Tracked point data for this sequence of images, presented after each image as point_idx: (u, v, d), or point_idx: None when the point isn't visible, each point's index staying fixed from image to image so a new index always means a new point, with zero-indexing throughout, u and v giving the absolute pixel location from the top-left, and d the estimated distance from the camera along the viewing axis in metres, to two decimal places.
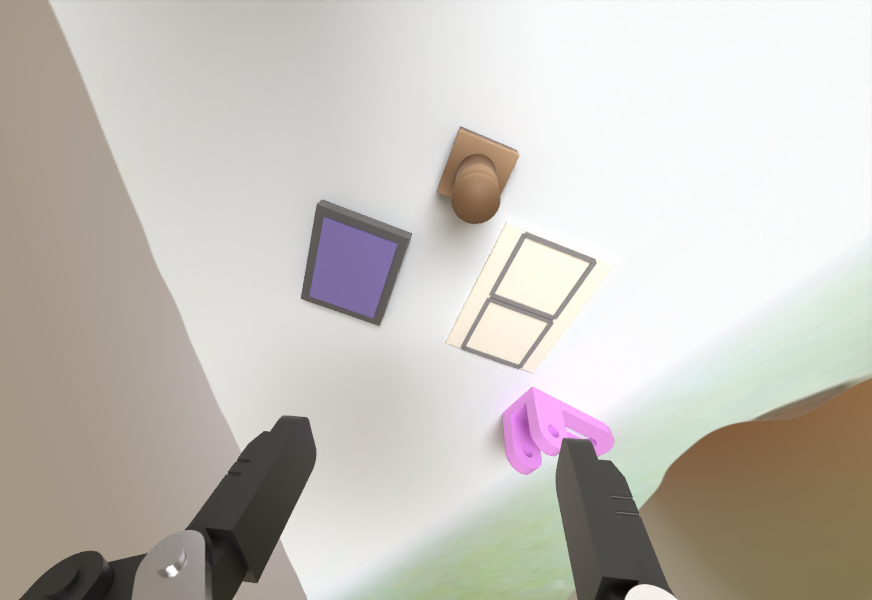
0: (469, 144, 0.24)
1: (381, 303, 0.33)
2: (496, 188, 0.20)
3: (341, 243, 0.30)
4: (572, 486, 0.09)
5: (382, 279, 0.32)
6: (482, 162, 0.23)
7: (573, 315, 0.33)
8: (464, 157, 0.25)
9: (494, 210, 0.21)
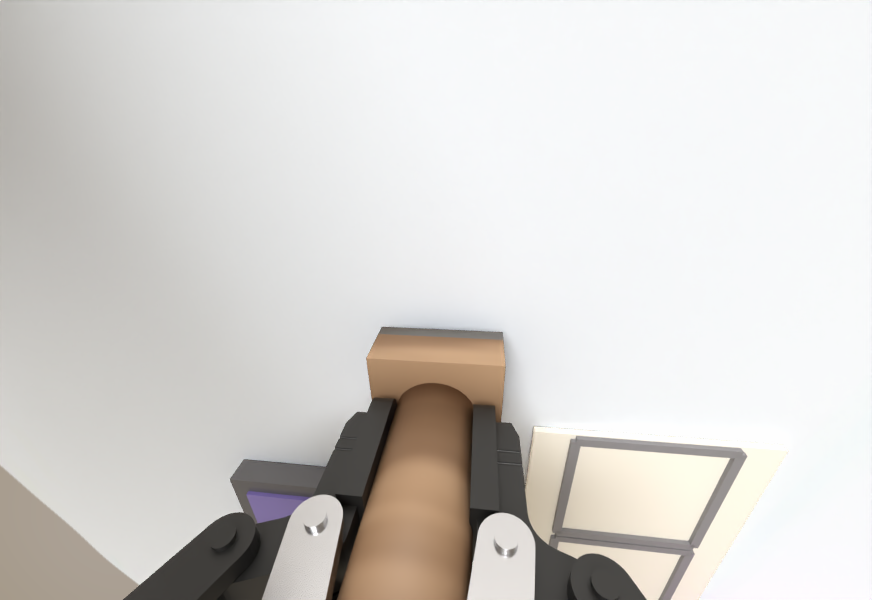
0: (397, 374, 0.12)
1: None
2: None
3: None
4: None
5: None
6: (417, 442, 0.10)
7: (730, 535, 0.17)
8: (399, 395, 0.12)
9: None
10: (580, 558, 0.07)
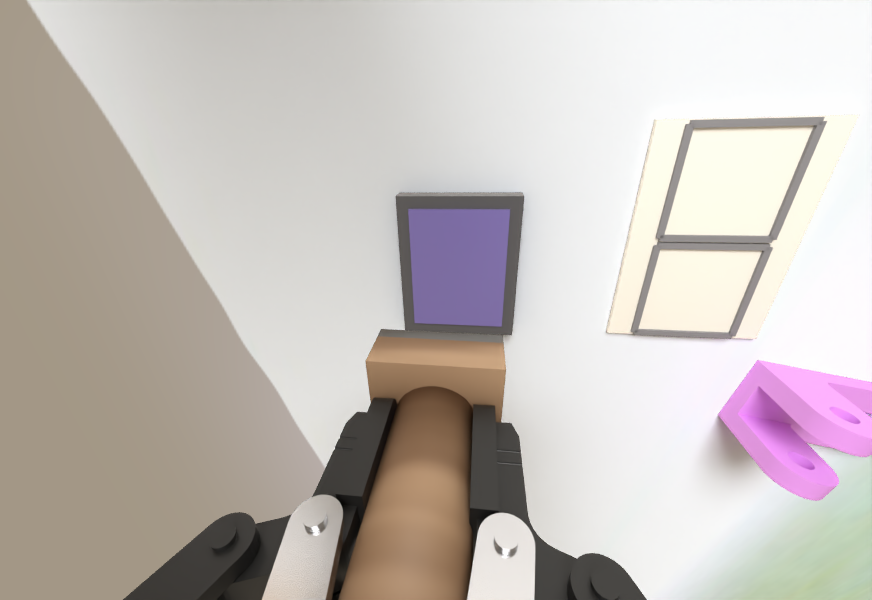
0: (396, 377, 0.12)
1: (507, 302, 0.25)
2: None
3: (437, 236, 0.23)
4: None
5: (501, 267, 0.23)
6: (417, 446, 0.09)
7: (803, 224, 0.21)
8: (398, 398, 0.12)
9: None
10: (581, 558, 0.07)
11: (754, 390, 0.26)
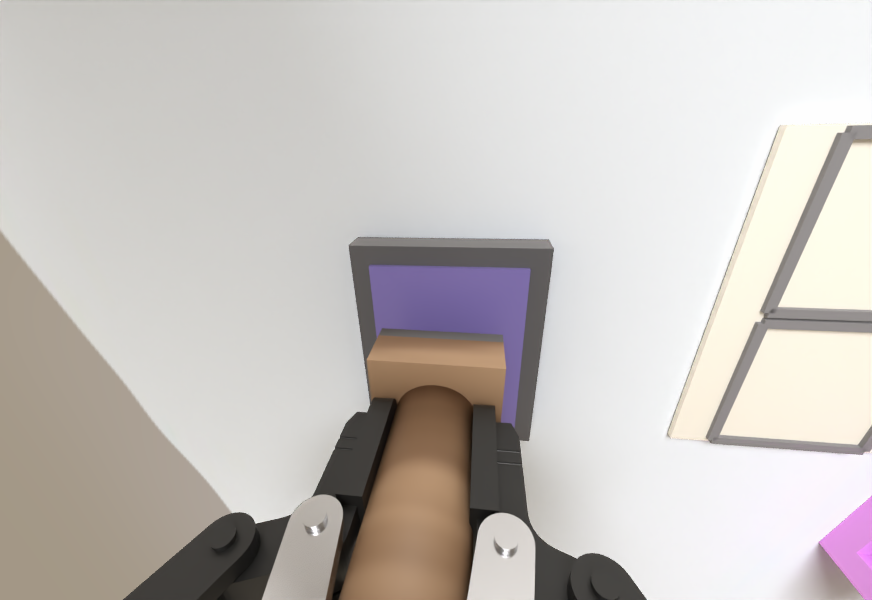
0: (397, 375, 0.12)
1: (522, 398, 0.17)
2: None
3: (415, 306, 0.15)
4: None
5: (514, 351, 0.15)
6: (418, 444, 0.10)
7: None
8: (399, 397, 0.12)
9: None
10: (581, 558, 0.07)
11: None
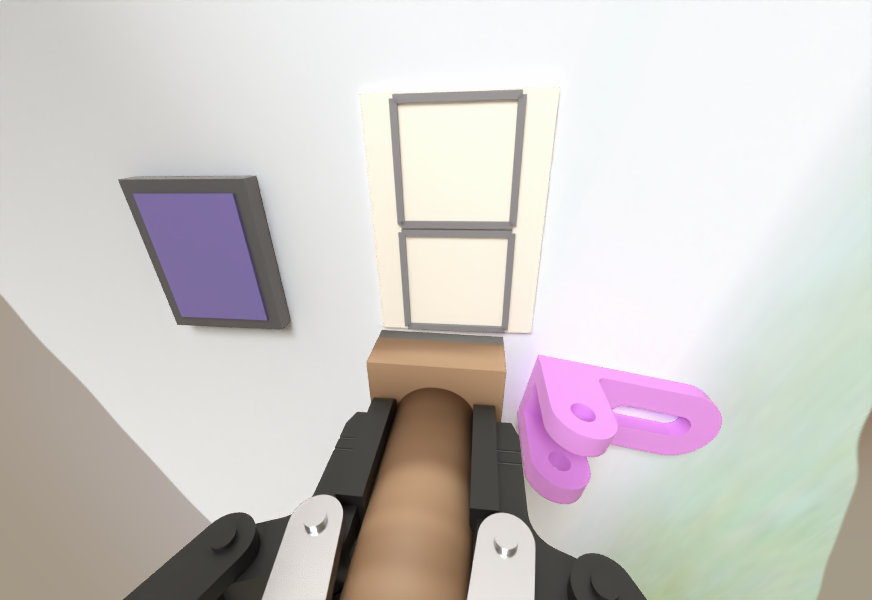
0: (397, 378, 0.12)
1: (265, 294, 0.23)
2: None
3: (171, 223, 0.22)
4: None
5: (244, 256, 0.22)
6: (418, 447, 0.10)
7: (540, 208, 0.20)
8: (398, 399, 0.12)
9: None
10: (580, 558, 0.07)
11: (533, 386, 0.24)
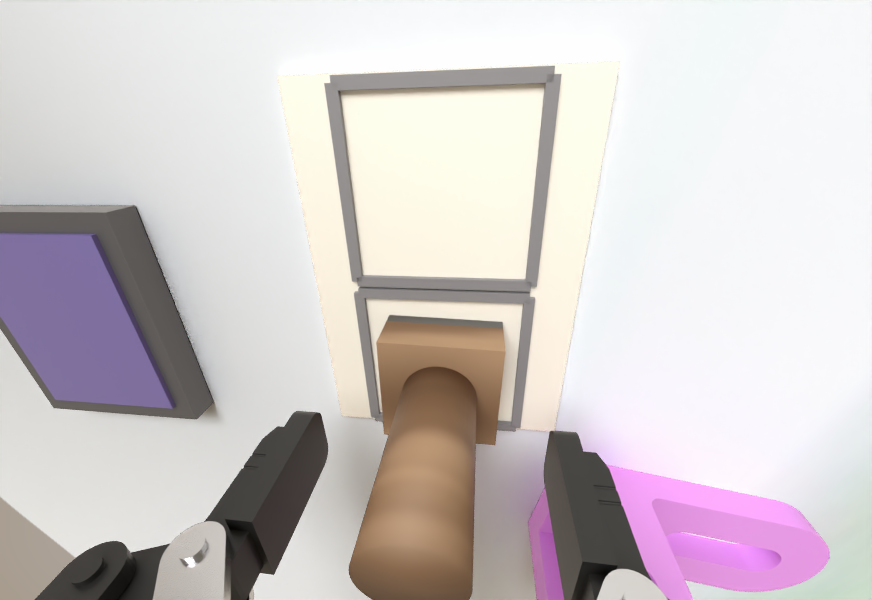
0: (404, 357, 0.13)
1: (166, 374, 0.16)
2: (445, 560, 0.07)
3: (11, 276, 0.14)
4: (557, 477, 0.09)
5: (125, 324, 0.15)
6: (424, 417, 0.10)
7: (575, 261, 0.12)
8: (405, 378, 0.13)
9: (464, 592, 0.08)
10: None
11: None
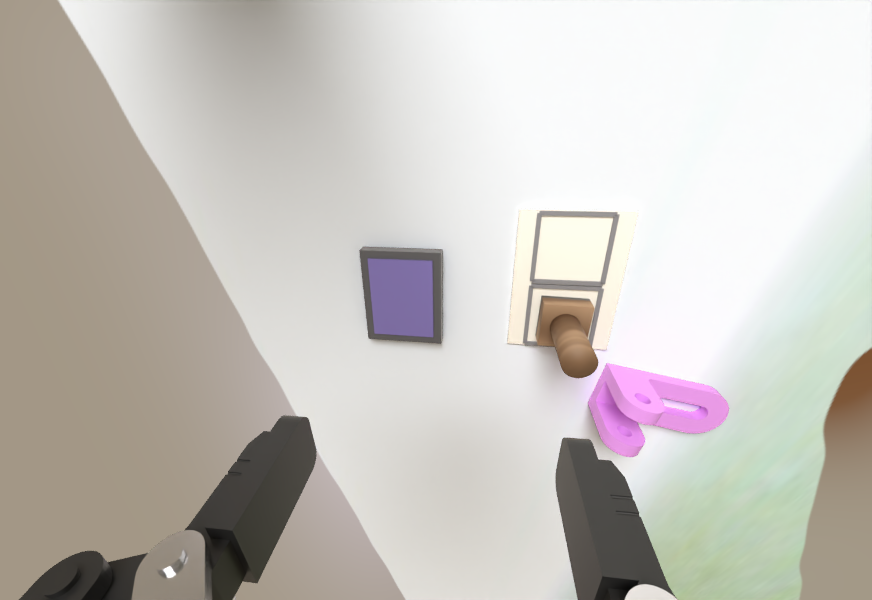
0: (554, 310, 0.33)
1: (436, 320, 0.36)
2: (592, 353, 0.28)
3: (387, 276, 0.35)
4: (572, 486, 0.09)
5: (429, 297, 0.35)
6: (571, 326, 0.31)
7: (620, 275, 0.33)
8: (553, 319, 0.33)
9: (595, 366, 0.28)
10: None
11: (603, 384, 0.37)
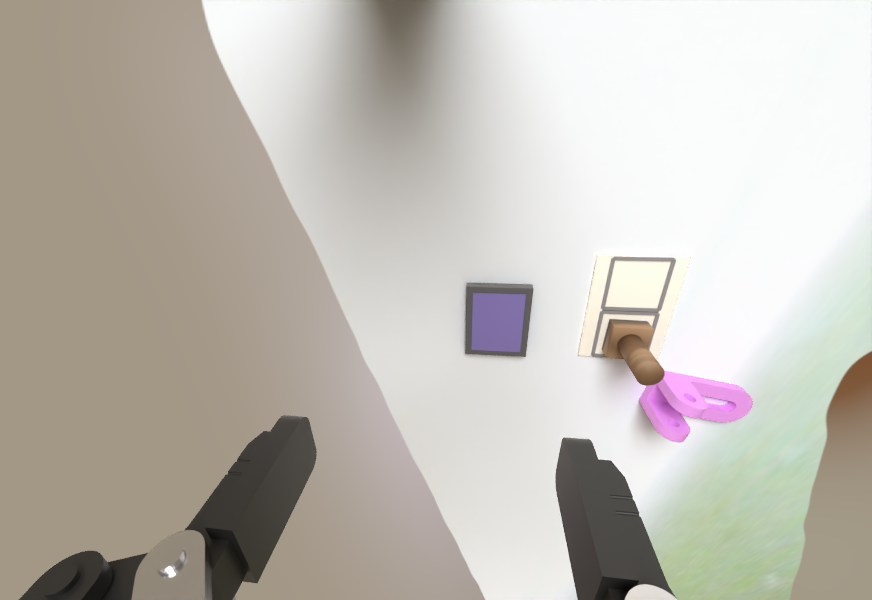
0: (622, 331, 0.42)
1: (523, 339, 0.46)
2: (661, 367, 0.37)
3: (487, 306, 0.44)
4: (572, 486, 0.09)
5: (520, 321, 0.45)
6: (639, 345, 0.40)
7: (673, 303, 0.42)
8: (620, 338, 0.43)
9: (662, 377, 0.38)
10: None
11: (654, 385, 0.47)
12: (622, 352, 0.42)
